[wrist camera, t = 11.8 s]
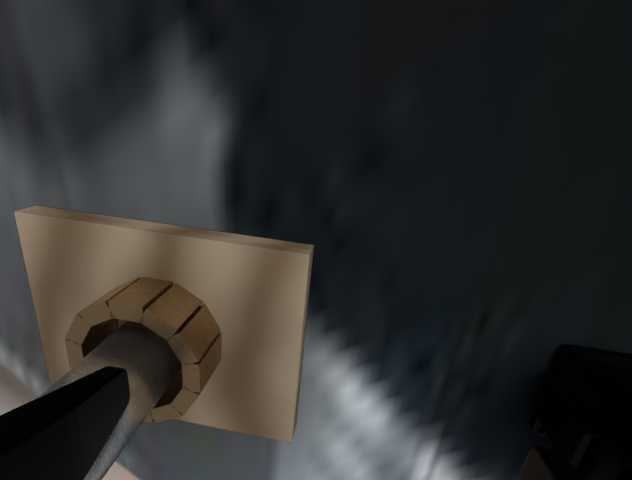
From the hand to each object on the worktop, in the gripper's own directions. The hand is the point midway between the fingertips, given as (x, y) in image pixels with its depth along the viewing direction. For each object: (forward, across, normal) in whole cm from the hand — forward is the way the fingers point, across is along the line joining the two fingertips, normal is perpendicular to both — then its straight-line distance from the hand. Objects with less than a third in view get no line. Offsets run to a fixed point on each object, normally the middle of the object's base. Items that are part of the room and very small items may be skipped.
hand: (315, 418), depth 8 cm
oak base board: (+13, +11, +8) cm, 19 cm away
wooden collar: (+12, +11, +8) cm, 18 cm away
